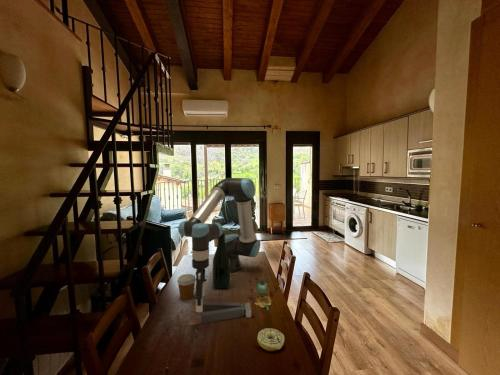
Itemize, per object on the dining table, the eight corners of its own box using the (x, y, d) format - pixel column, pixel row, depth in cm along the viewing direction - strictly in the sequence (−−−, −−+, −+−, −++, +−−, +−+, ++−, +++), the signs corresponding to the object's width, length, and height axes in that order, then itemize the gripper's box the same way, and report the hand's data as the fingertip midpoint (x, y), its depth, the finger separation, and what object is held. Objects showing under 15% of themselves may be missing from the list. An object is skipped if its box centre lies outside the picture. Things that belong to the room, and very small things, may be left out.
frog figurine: (253, 314, 116) (253, 283, 117) (252, 298, 134) (252, 271, 135) (273, 314, 116) (273, 282, 117) (269, 298, 134) (269, 271, 135)
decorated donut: (284, 355, 91) (284, 345, 91) (256, 352, 92) (256, 343, 92) (284, 335, 102) (284, 327, 101) (258, 333, 103) (258, 325, 102)
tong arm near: (189, 321, 108) (189, 314, 108) (244, 313, 115) (244, 306, 114) (189, 325, 106) (189, 317, 106) (245, 316, 112) (245, 308, 112)
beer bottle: (228, 281, 149) (228, 228, 146) (231, 290, 139) (231, 233, 136) (211, 283, 146) (211, 229, 143) (213, 292, 136) (213, 234, 133)
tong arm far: (193, 308, 118) (193, 301, 118) (244, 310, 117) (244, 303, 117) (191, 311, 116) (191, 304, 116) (244, 313, 115) (244, 305, 114)
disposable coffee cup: (174, 299, 128) (173, 277, 127) (189, 293, 135) (189, 272, 134) (184, 306, 122) (183, 283, 121) (199, 299, 129) (199, 277, 128)
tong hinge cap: (244, 309, 118) (244, 302, 118) (249, 309, 118) (249, 302, 118) (246, 318, 111) (246, 310, 111) (251, 318, 112) (251, 310, 111)
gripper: (195, 249, 122) (195, 290, 124) (188, 269, 97) (188, 320, 99) (210, 248, 123) (210, 289, 125) (207, 268, 98) (207, 319, 100)
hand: (200, 303), depth 112 cm, fingers open, 13 cm apart
